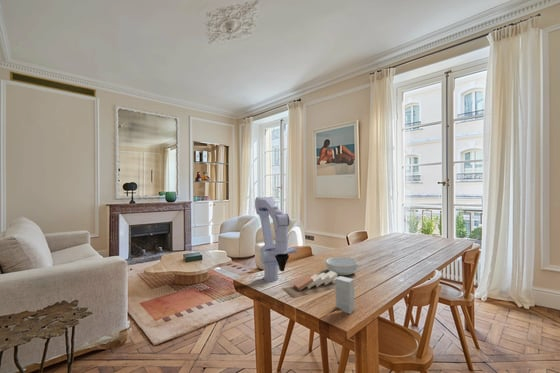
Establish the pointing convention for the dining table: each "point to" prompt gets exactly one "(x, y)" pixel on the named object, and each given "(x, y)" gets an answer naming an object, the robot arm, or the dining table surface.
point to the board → (308, 290)
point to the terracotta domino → (303, 283)
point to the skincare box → (345, 294)
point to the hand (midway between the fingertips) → (282, 270)
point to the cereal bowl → (342, 265)
